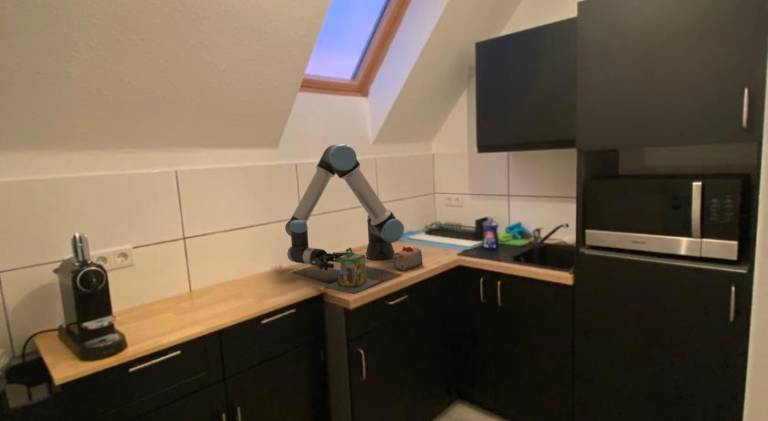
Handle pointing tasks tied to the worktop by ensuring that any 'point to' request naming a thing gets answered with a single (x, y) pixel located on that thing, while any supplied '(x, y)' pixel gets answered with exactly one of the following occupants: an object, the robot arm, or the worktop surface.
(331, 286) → the rubber mat
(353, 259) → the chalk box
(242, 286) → the worktop surface
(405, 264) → the food item
